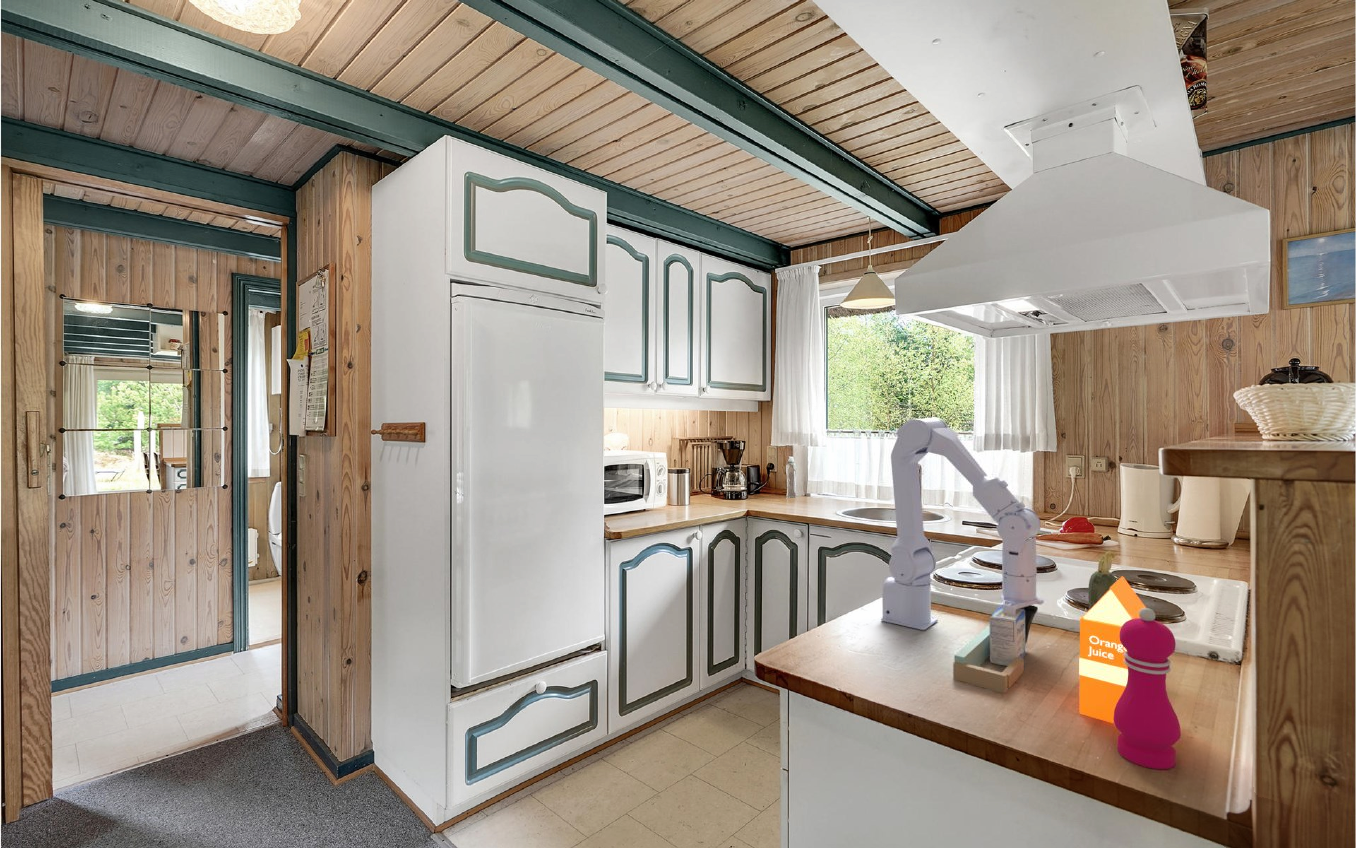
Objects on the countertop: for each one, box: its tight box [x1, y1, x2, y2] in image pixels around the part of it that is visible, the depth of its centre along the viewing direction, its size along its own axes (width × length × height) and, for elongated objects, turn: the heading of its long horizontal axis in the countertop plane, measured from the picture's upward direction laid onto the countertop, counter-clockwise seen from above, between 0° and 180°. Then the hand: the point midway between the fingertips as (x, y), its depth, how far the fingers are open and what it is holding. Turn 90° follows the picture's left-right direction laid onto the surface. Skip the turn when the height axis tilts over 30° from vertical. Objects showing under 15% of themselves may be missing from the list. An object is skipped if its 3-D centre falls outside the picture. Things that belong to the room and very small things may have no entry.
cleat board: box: [952, 624, 1025, 694], centre depth 114 cm, size 8×21×4 cm, turn 138°
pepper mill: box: [1113, 607, 1182, 770], centre depth 85 cm, size 7×7×20 cm
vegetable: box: [1088, 549, 1118, 611], centre depth 117 cm, size 4×4×20 cm
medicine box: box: [989, 605, 1026, 667], centre depth 117 cm, size 8×4×9 cm, turn 141°
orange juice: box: [1078, 575, 1147, 724], centre depth 97 cm, size 8×9×20 cm
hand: (1019, 643), depth 122 cm, fingers closed
